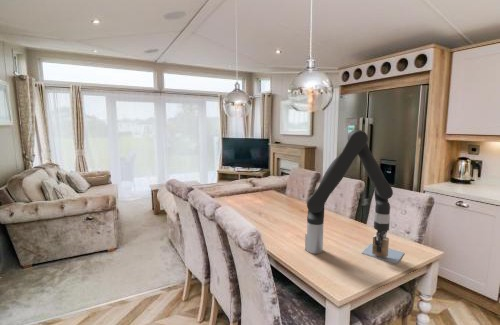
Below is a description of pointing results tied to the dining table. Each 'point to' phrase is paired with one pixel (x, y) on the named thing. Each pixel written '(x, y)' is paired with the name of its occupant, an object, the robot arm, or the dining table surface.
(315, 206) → the robot arm
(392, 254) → the mat
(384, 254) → the slab
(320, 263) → the dining table surface
